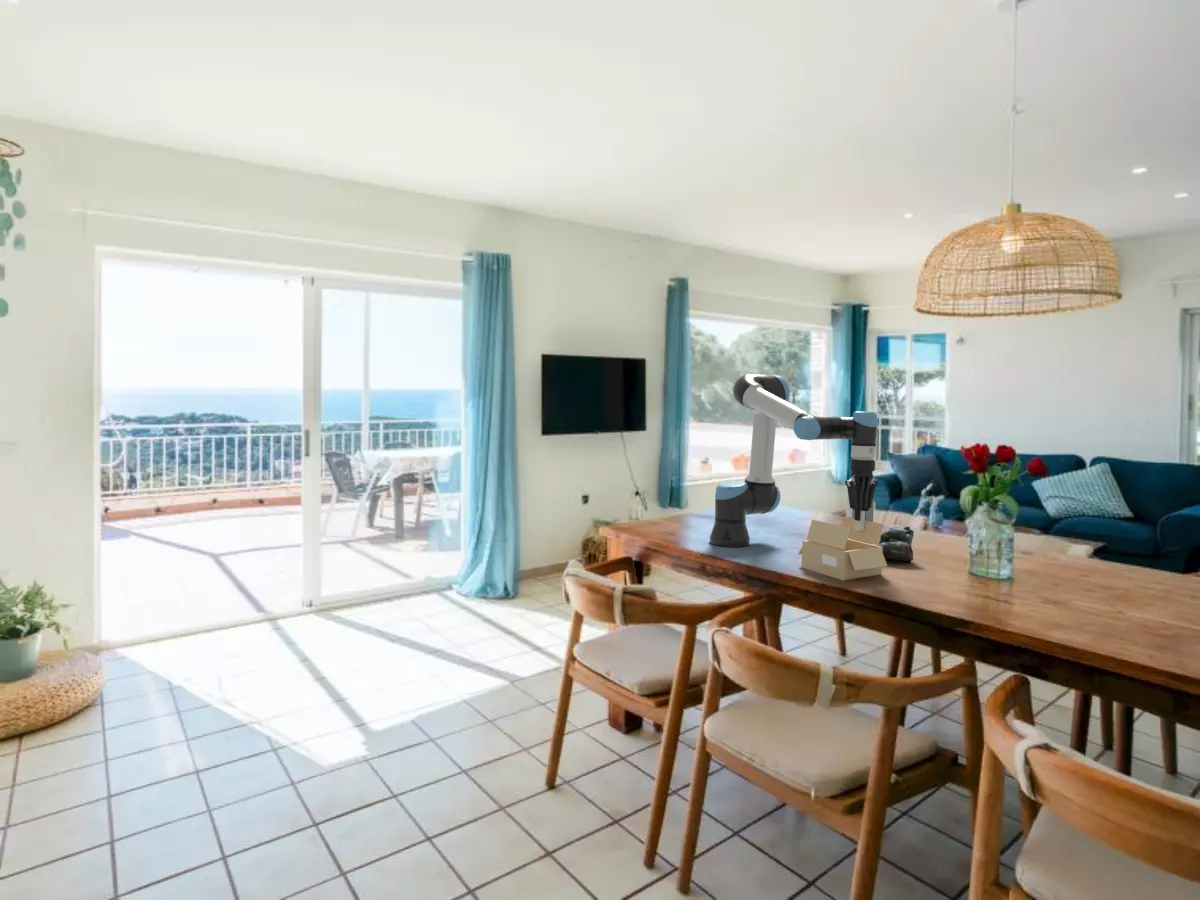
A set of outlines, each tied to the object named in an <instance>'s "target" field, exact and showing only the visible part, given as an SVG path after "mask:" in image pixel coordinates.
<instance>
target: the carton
mask: <svg viewBox="0 0 1200 900" xmlns="http://www.w3.org/2000/svg"><path fill="white" fill-rule="evenodd" d="M798 555H799V556H800V555H801V568H802V569H804V570H808V571H811V572H815V573H818V574H821V575H825V576H828V577H832V578H834V579H837V580H840V581H842V582H843V581H848V580H849V581H850V580H856V579H863V578H868V577H877V576H882V574H883V573H882V572H883V570H882V569H883V567H884V568H885V567H888V564H887V561H886V559H885V558H884V556H883V547H880V546H877V545H875V544H868V543H864V542H860V541H855V540H851V539H847V542H846V545H845V549H844V550H843V549H839V548H835V547H832V546H828V545H824V544H820V543H816V542H812V541H809V540H807V539H805V540H802V546H801V548H800V550H799V551H798Z"/></svg>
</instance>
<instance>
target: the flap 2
mask: <svg viewBox="0 0 1200 900" xmlns="http://www.w3.org/2000/svg"><path fill="white" fill-rule="evenodd" d="M841 526H844V527H848V528H850V531H849V534H848V538H850V539H854V540H858V541H862V542H866V543H870V544H872V545H876V546H877V545H879V542H880V537H881V533H883V527H884V523H880V522H875V521H873V522H871V521H866V520H865V523H864V531H858V530H855V519H854V518H851V517H847V516H846V515H844V516H843V521H842V525H841Z"/></svg>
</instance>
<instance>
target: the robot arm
mask: <svg viewBox="0 0 1200 900" xmlns="http://www.w3.org/2000/svg"><path fill="white" fill-rule="evenodd" d="M732 388H733V390H732V394H733V397H734V399H735V401H736V402H737V403H739V404H740V405H741V406H743V407H745V408H746V409H750V410H751V412H752V413H753V422H752V423H753V425H752V433H751V435H752V436H751V437H752V438H751V446H750V448H751V449H750V460H749V473H748V475H746V477H745V478H744V481H740V480H738V481H737V480H735V481H732V480H731V481H725V482H721V483H719V484H717V486H716V488H715V494H714V497H715V499H714V500H715V507H714V508H715V509H714V525H713V526H712V530H711V533H710V535H709V543H710V544H711V545H714V546H719V547H727V548H730V547H731V548H739V547H740V548H741V547H747V546H750V544H751V540H750V534H749V531H748V528H747V524H746V523H747V517H746V516H747V515H749V516H750V515H764V514H765V515H766V514H767V513H771V512H774V510H776V509H777V507H778V506H779V504H780V503H781V502H780V501H781V491H780V490H779V489H780V488H779V486H777V485H776V480H775V479H774V478H773V475H772V474H773V466H774V465H773V463H774V452H775V440H776V431H777V430H776V429H777V423H780V424H782V425H783V426H785V427H787V428H789V429H790V430H792V431H793V433H794V434H795V436H796V438H797V439H800V440H805V441H815V440H816V441H818V440H851V450H850V458H851V460H850V470H851V475H850V478H849V479H846V480H845V481H844V483H845V485H846V487H847V494H848V497H849V504H850V508H851V509H852V510H855V517H854V519H855V530H858V531H864V523H865V519H866V511H869V509H870V508H871V506H872V502H873V499H874V497H875V492H876V488H877V486H878V484H879V480H878V479H875V477H874V474H873V473H874V472H875V470H876V460H875V458H876V454H877V453H876V452H877V451H876V450H877V448H876V447H877V436H878V435H877V433H878V414H877V413H876V412H875V411H854V412H853V414H852V416H851V417H850V416H849V417H847V416H839V415H834V416H833V415H832V416H815V415H813V414H812V413H810V412H807V411H806V410H805V409H802V408H800V407H799V406H797V405H794V404H792V403H790V402H788V400H789V399H790V388H789V384H788V382H787V381H786V379H784V378H783V377H782V376H780V375H777V374H776V375H775V374H755V373H754V374H751V373H749V374H744V375H742V376H740V377H739V378H737V379H736V381H735V382H734V385H733V387H732Z"/></svg>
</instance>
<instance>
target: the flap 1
mask: <svg viewBox="0 0 1200 900" xmlns="http://www.w3.org/2000/svg"><path fill="white" fill-rule="evenodd" d="M849 531H850V528H848V527H844V526H842V525H838V524H834V523H829V522H825V521H821V520H817V519H811V523H810V526H809V529H808V533H807V537H806V540H809V541H812V542H816V543H820V544H824V545H828V546H832V547H835V548H839V549H843V550H844V549H845V545H846V542H847V538H848V534H849Z"/></svg>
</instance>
